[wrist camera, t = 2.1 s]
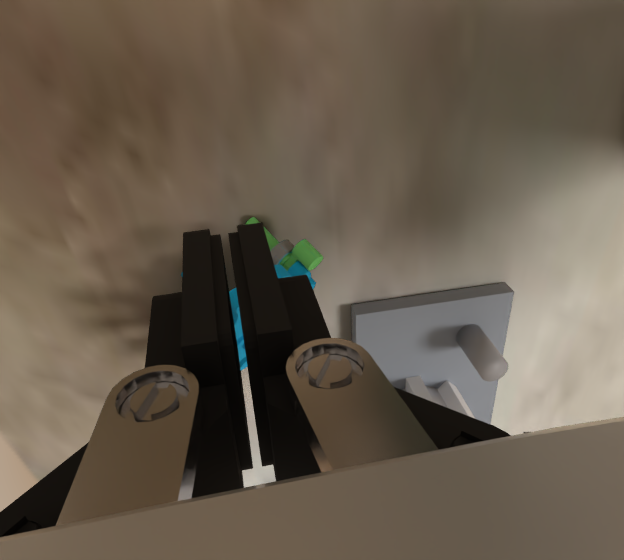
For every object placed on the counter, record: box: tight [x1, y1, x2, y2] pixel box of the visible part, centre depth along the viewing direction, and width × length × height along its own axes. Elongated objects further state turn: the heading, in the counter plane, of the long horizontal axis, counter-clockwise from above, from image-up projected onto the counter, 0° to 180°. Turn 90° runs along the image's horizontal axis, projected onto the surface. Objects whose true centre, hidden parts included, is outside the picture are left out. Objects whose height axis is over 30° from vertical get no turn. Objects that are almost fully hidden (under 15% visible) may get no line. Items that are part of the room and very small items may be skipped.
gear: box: [181, 217, 323, 370], centre depth 29 cm, size 11×6×10 cm
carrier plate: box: [351, 282, 514, 424], centre depth 38 cm, size 11×20×5 cm, turn 3°
